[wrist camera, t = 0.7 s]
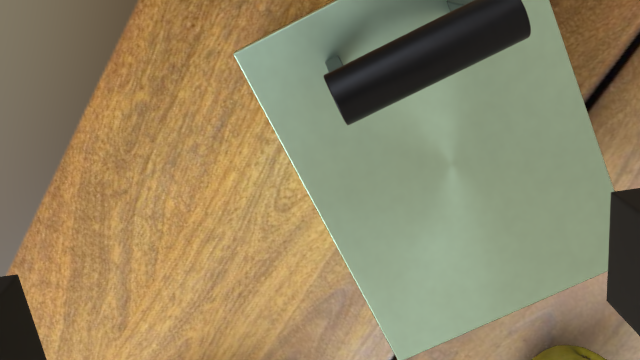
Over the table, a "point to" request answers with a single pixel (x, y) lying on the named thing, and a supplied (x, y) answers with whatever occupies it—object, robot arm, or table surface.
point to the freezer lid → (440, 155)
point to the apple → (568, 353)
